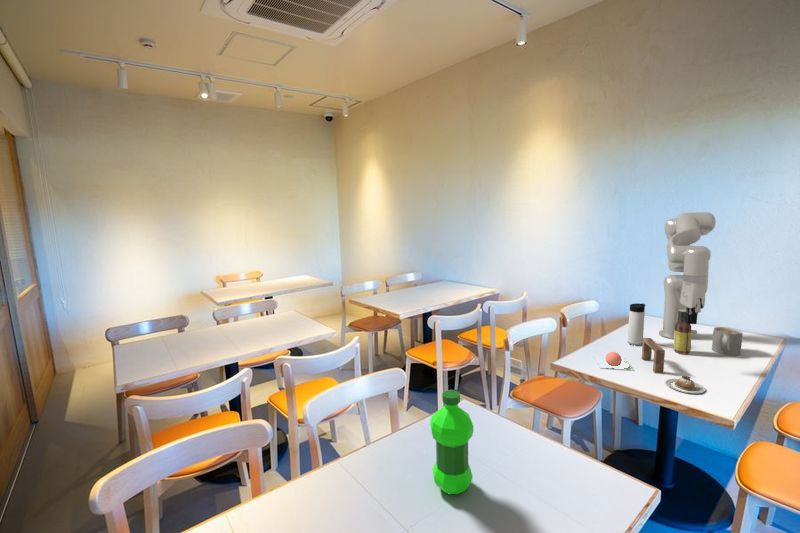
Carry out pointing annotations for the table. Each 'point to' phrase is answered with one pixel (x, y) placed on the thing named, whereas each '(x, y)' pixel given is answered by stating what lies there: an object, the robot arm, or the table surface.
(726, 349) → the coffee mug
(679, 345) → the sauce bottle
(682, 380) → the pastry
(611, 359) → the ball
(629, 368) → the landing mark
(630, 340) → the travel mug
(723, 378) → the table surface
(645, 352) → the bridge
